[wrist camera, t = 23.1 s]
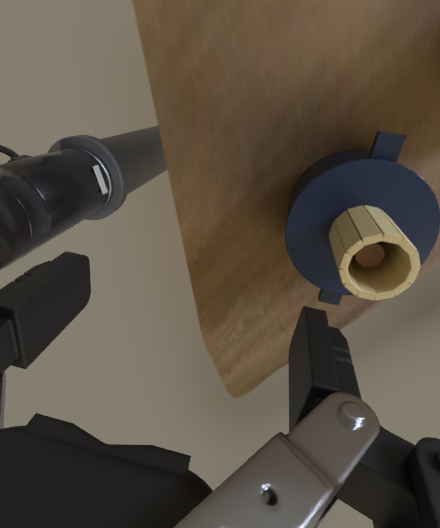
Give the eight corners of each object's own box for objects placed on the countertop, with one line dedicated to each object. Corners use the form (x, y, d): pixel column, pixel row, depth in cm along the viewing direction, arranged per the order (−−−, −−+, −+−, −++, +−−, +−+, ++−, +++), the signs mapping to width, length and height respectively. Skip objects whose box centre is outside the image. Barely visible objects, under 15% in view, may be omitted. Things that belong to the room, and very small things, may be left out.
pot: (273, 261, 46) (271, 293, 39) (312, 115, 37) (318, 120, 30) (371, 283, 45) (388, 320, 37) (436, 137, 36) (475, 148, 28)
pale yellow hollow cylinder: (321, 254, 35) (330, 291, 28) (340, 199, 32) (354, 227, 25) (379, 266, 34) (401, 306, 28) (403, 212, 31) (433, 243, 25)
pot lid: (271, 274, 38) (269, 303, 33) (306, 144, 31) (310, 154, 26) (399, 302, 37) (418, 337, 32) (465, 173, 30) (504, 190, 25)
